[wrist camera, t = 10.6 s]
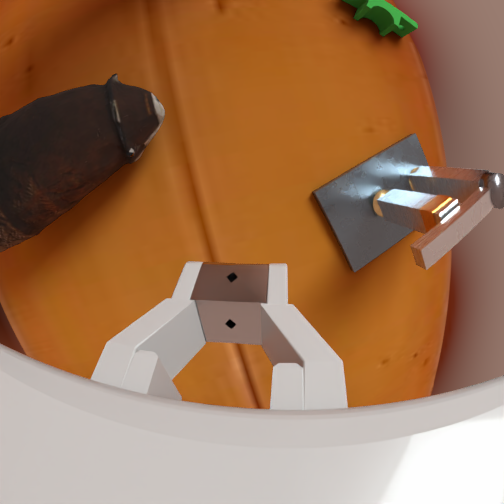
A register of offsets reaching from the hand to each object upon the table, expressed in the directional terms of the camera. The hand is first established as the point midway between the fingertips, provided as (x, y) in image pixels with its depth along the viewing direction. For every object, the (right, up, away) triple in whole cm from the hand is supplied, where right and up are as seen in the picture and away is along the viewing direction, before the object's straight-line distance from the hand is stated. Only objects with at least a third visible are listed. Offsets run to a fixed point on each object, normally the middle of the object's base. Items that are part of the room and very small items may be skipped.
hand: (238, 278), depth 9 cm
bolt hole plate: (+18, +8, +26) cm, 33 cm away
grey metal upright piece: (+19, +8, +25) cm, 32 cm away
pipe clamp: (+18, +35, +19) cm, 44 cm away
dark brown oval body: (-21, +13, +20) cm, 32 cm away
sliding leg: (+18, +7, +24) cm, 31 cm away
